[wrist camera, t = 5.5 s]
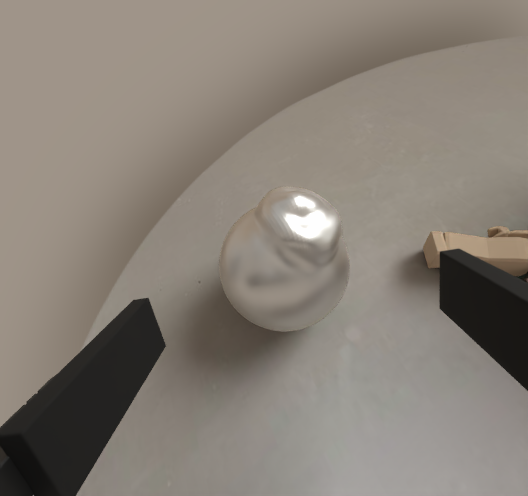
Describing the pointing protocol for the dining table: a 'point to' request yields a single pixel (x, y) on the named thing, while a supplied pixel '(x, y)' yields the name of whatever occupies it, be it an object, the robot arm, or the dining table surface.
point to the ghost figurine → (285, 260)
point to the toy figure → (484, 248)
